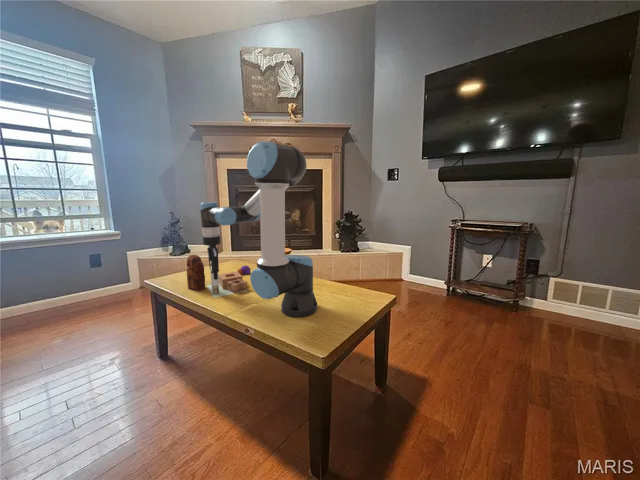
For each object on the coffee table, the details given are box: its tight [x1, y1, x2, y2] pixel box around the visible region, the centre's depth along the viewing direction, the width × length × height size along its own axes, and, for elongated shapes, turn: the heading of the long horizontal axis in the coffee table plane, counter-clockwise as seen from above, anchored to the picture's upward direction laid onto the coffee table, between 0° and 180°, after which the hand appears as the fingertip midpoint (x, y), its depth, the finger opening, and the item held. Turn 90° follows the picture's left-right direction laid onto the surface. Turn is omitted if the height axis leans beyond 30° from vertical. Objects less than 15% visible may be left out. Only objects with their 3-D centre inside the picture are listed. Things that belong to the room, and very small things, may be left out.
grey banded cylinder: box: [209, 261, 219, 294], centre depth 123 cm, size 3×3×16 cm
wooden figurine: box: [186, 254, 206, 292], centre depth 131 cm, size 12×6×18 cm, turn 56°
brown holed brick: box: [227, 279, 248, 294], centre depth 129 cm, size 7×7×4 cm
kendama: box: [236, 265, 252, 276], centre depth 150 cm, size 6×6×20 cm
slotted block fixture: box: [206, 271, 248, 299], centre depth 131 cm, size 20×16×6 cm
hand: (215, 284), depth 124 cm, fingers closed on grey banded cylinder, 3 cm apart
